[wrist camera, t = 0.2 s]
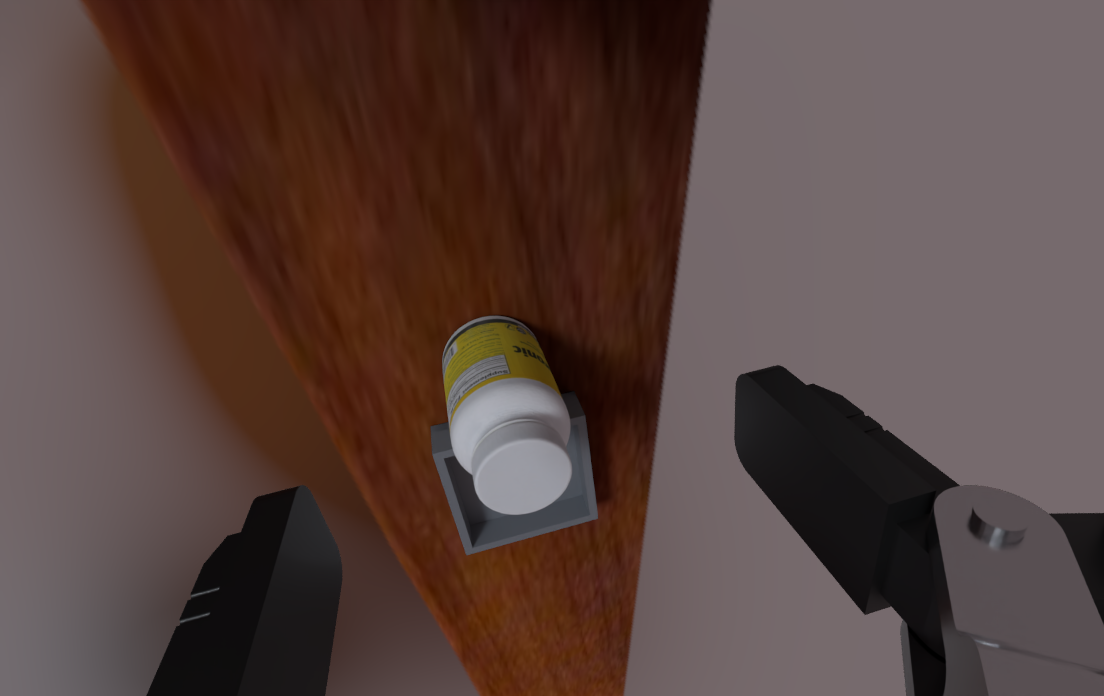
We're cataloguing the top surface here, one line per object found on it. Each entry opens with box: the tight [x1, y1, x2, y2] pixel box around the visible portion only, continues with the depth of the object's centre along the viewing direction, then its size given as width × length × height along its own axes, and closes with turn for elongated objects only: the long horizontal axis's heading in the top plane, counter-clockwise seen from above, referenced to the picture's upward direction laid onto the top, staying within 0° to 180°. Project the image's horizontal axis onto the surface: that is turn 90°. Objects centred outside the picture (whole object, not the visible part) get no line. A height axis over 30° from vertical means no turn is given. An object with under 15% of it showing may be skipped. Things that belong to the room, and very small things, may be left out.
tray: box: [431, 391, 598, 555], centre depth 33 cm, size 9×9×2 cm
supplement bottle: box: [442, 316, 572, 515], centre depth 25 cm, size 5×5×10 cm
